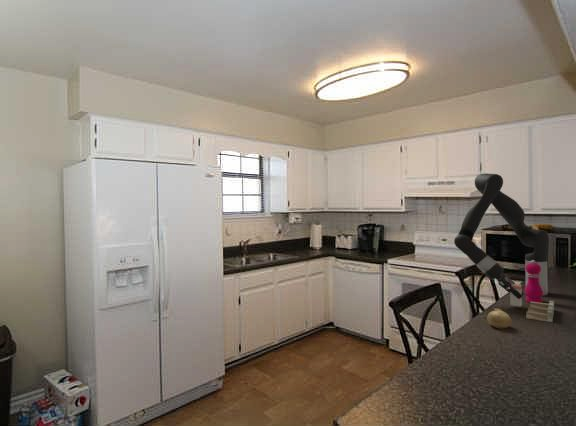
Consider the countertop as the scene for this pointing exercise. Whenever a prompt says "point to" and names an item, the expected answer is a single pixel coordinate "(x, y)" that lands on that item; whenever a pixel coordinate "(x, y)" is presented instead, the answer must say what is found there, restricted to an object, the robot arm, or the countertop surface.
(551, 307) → the comb rack
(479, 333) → the countertop surface
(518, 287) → the plug
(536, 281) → the pepper mill
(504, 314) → the onion
